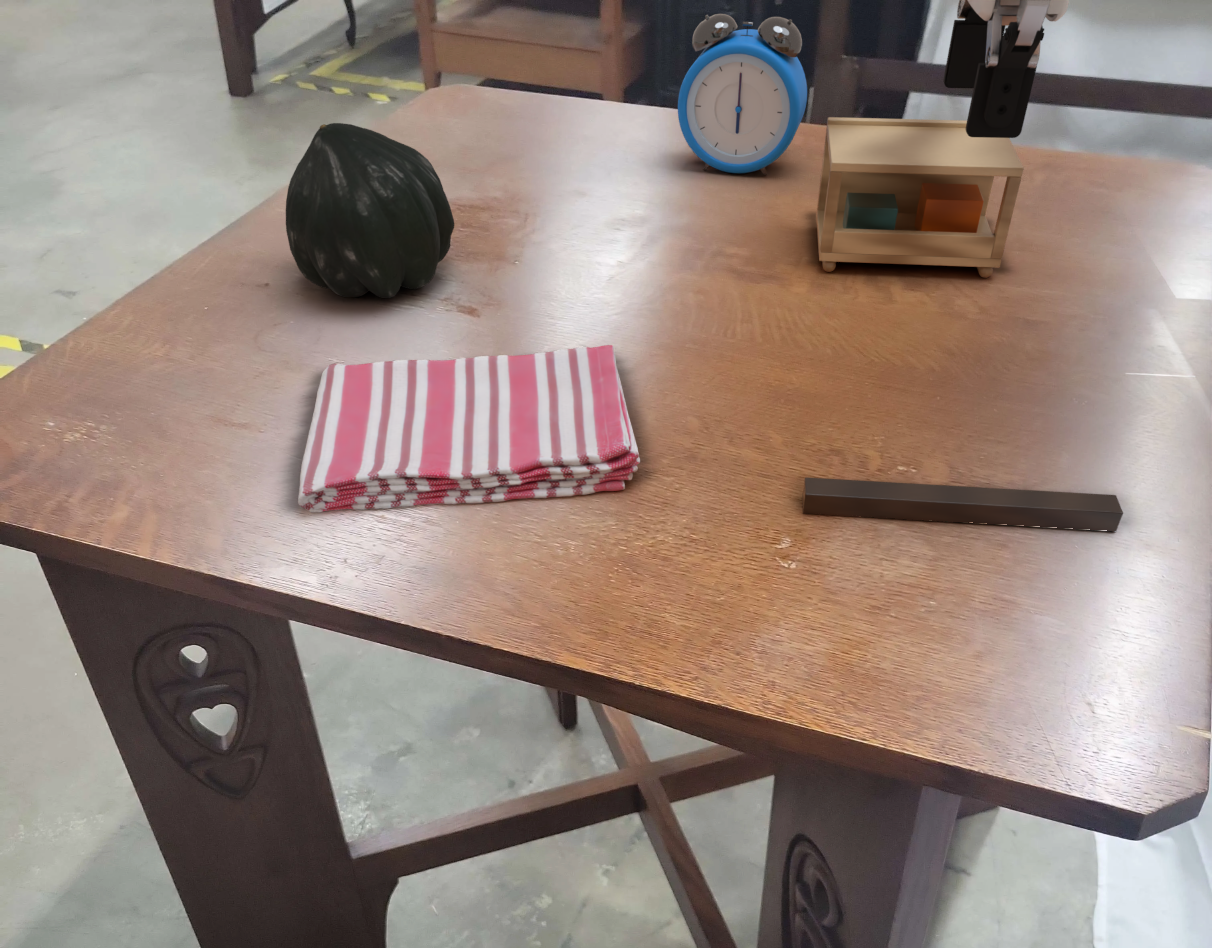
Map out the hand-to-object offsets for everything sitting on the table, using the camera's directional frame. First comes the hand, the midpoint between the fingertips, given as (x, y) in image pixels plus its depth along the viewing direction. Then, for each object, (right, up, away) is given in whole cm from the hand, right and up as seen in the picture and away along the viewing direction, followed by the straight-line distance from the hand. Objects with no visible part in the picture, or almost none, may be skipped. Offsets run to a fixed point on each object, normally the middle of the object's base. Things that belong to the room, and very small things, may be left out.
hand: (978, 110), depth 68 cm
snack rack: (+4, +2, +33) cm, 33 cm away
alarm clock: (-9, +17, +50) cm, 54 cm away
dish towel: (-34, -19, +10) cm, 40 cm away
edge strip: (-1, -26, +2) cm, 26 cm away
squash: (-45, -2, +30) cm, 54 cm away
